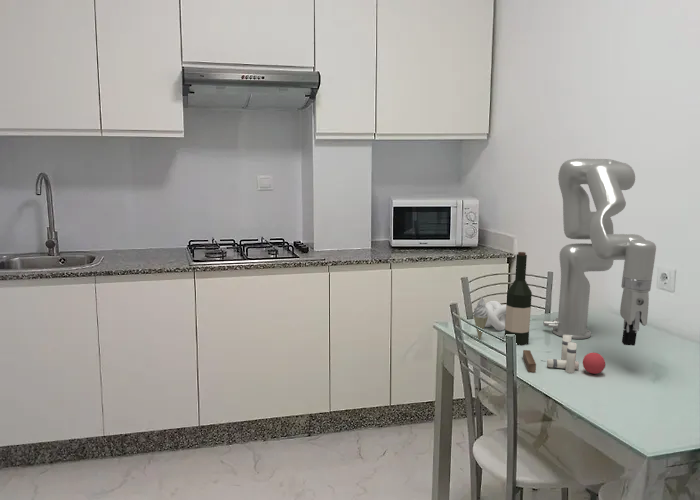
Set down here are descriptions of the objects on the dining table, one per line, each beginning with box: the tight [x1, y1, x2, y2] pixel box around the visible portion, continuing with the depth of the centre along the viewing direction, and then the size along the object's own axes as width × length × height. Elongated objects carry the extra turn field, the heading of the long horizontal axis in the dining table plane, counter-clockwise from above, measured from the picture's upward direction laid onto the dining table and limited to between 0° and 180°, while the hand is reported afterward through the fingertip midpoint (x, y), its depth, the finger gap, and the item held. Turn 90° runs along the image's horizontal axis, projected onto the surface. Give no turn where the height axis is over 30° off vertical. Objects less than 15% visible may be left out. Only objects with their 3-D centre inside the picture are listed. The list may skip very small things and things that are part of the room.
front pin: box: [546, 358, 580, 371], centre depth 176 cm, size 2×2×8 cm
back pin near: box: [565, 341, 577, 374], centre depth 172 cm, size 2×2×8 cm
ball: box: [582, 352, 606, 375], centre depth 172 cm, size 6×6×6 cm
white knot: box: [484, 300, 506, 332], centre depth 214 cm, size 11×12×9 cm
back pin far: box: [560, 335, 572, 360], centre depth 179 cm, size 2×2×8 cm
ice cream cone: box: [473, 295, 489, 340], centre depth 200 cm, size 5×5×15 cm
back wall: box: [522, 349, 537, 373], centre depth 178 cm, size 2×12×2 cm, turn 171°
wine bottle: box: [504, 251, 533, 346], centre depth 197 cm, size 8×8×30 cm
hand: (628, 344), depth 174 cm, fingers closed
